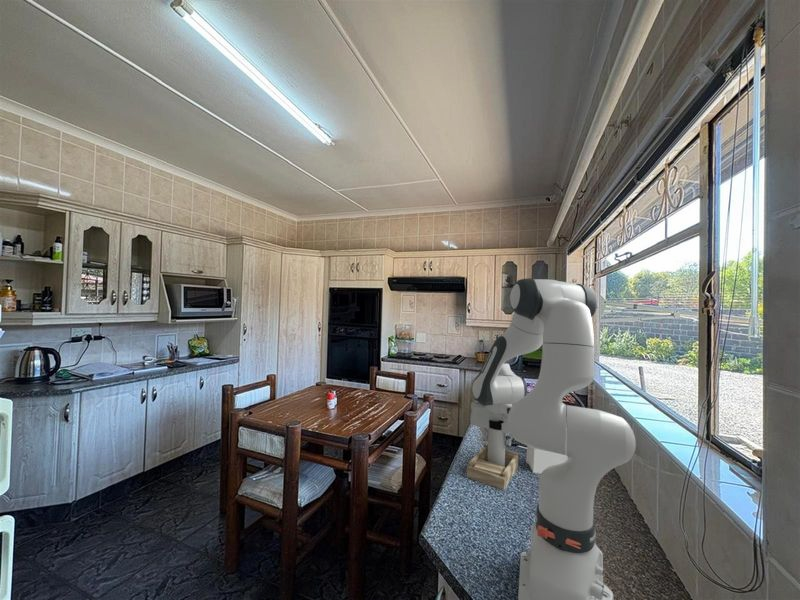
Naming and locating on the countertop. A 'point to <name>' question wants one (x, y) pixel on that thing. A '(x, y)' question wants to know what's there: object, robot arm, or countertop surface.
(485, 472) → the birch rack
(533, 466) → the milk
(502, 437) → the travel mug
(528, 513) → the countertop surface
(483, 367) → the robot arm
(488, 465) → the offcut top
